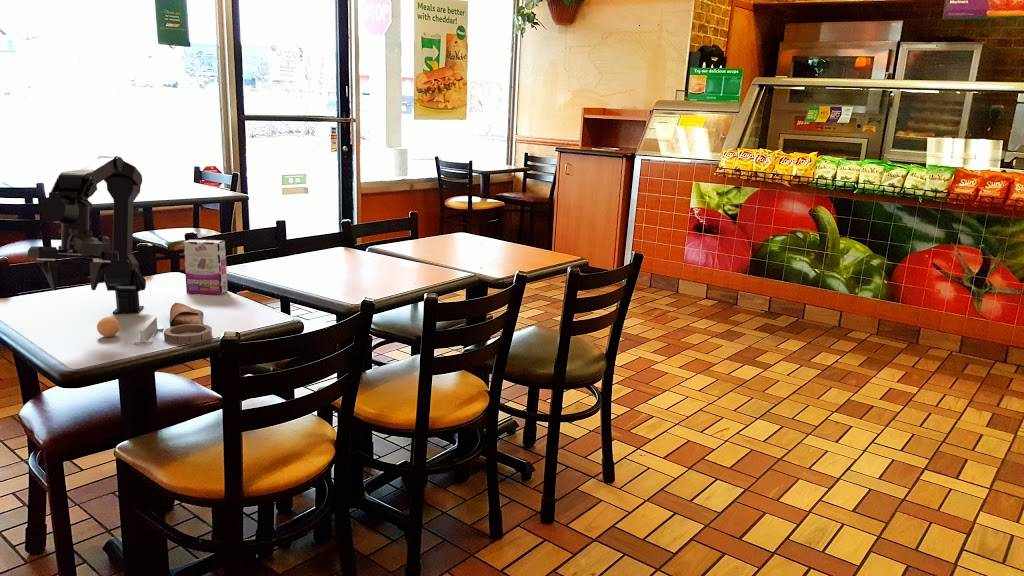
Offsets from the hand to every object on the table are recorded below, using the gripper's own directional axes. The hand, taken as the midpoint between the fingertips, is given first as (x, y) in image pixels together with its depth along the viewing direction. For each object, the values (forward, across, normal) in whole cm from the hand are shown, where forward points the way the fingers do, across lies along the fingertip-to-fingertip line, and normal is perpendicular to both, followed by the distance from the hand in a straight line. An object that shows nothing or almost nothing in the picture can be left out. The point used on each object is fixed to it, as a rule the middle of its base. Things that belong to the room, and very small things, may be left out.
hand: (74, 290), depth 182 cm
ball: (+12, +8, -1) cm, 14 cm away
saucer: (+11, +20, -16) cm, 28 cm away
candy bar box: (+2, +50, +18) cm, 53 cm away
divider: (+11, +14, -8) cm, 20 cm away
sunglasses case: (+9, +27, -5) cm, 29 cm away
